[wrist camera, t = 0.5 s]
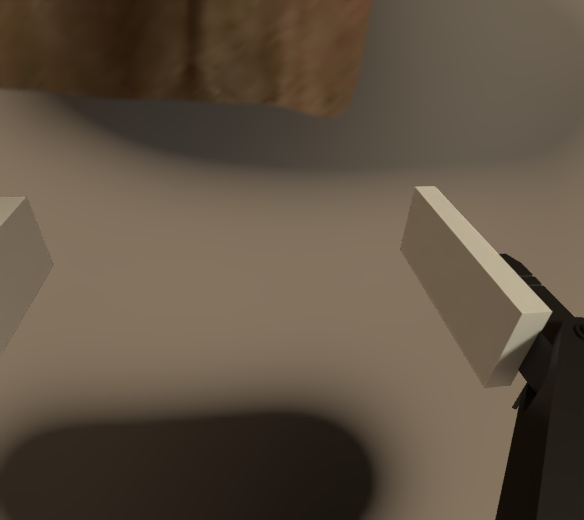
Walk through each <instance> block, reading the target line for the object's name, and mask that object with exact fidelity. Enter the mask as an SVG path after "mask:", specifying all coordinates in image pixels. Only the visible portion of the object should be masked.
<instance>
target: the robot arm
mask: <svg viewBox="0 0 584 520" xmlns="http://www.w3.org/2000/svg"><path fill="white" fill-rule="evenodd" d="M400 250H401V251H402V253H403V255H404V257H405V258H406V260H407V262H408V263H409V265H410V266H411V268H412V270H413V271H414V273H415V275H416V276H417V278H418V279H419V281H420V283H421V284H422V286H423V288H424V289H425V291H426V293H427V294H428V296H429V298H430V299H431V301H432V302H433V304H434V306H435V308H436V309H437V311H438V313H439V314H440V316H441V317H442V319H443V321H444V322H445V324H446V326H447V327H448V329H449V331H450V332H451V334H452V336H453V337H454V339H455V341H456V342H457V344H458V345H459V347H460V348H461V350H462V352H463V354H464V355H465V357H466V358H467V360H468V362H469V364H470V365H471V367H472V368H473V370H474V372H475V373H476V375H477V377H478V378H479V380H480V382H481V383H482V385H483V387H484V388H488V387H499V386H509V385H511V383H512V382H513V380H514V378H515V376H516V375H517V373H518V371H520V373H521V374H522V376H523V377H524V378H525V380H526V381H527V383H526V385H525V387H524V388H523V390H522V392H521V393H520V395H519V397H518V398H517V400H516V401H515V403H514V405H513V407H512V408H514V409H517V408H518V406H519V408H518V413H517V419H516V423H515V428H514V433H513V437H512V442H511V447H510V452H509V457H508V461H507V466H506V471H505V476H504V480H503V485H502V490H501V495H500V500H499V505H498V509H497V515H496V519H495V520H584V318H582V317H574V316H573V315H572V314H571V313H570V312H569V311H568V310H567V309H566V308H565V307H564V306H563V305H562V304H561V303H560V302H559V301H558V300H557V299H556V298H555V297H554V296H553V295H552V294H551V293H550V292H549V291H548V290H547V289H546V288H545V287H544V286H542V285H541V283H540V282H539V281H538V279H536V277H533V276H532V273H531V272H529V271H528V269H527V268H526V267H525V266H524V265H523V264H522V263H520V262H519V261H517V260H515V259H514V258H512V257H510V256H509V255H507V254H498V253H497V252H496V251H495V250H494V249H493V248H492V247H491V246H490V245H489V244H488V242H487V241H486V240H485V239H484V238H483V237H482V236H481V235H480V234H479V233H478V232H477V231H476V230H475V229H474V228H473V226H472V225H471V224H470V223H469V222H468V221H467V220H466V219H465V218H464V217H463V216H462V215H461V214H460V213H459V211H458V210H457V209H456V208H455V207H454V206H453V205H452V204H451V203H450V202H449V201H448V200H447V199H446V198H445V197H444V195H443V194H442V193H441V192H440V191H439V190H438V189H437V188H436V187H435V186H430V187H429V186H428V187H415V189H414V193H413V197H412V201H411V206H410V210H409V214H408V218H407V222H406V227H405V231H404V235H403V239H402V243H401V248H400ZM52 266H53V263H52V260H51V258H50V255H49V253H48V250H47V248H46V245H45V243H44V240H43V237H42V235H41V232H40V230H39V227H38V225H37V222H36V220H35V217H34V214H33V212H32V209H31V207H30V204H29V201H28V199H27V197H26V196H22V197H0V356H1V354H2V353H3V351H4V349H5V348H6V346H7V344H8V342H9V340H10V339H11V337H12V335H13V334H14V332H15V330H16V329H17V326H18V325H19V323H20V322H21V320H22V318H23V316H24V314H25V313H26V311H27V310H28V308H29V306H30V304H31V303H32V301H33V299H34V297H35V296H36V294H37V292H38V290H39V289H40V287H41V285H42V284H43V282H44V280H45V278H46V277H47V275H48V273H49V272H50V270H51V268H52Z"/></svg>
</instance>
